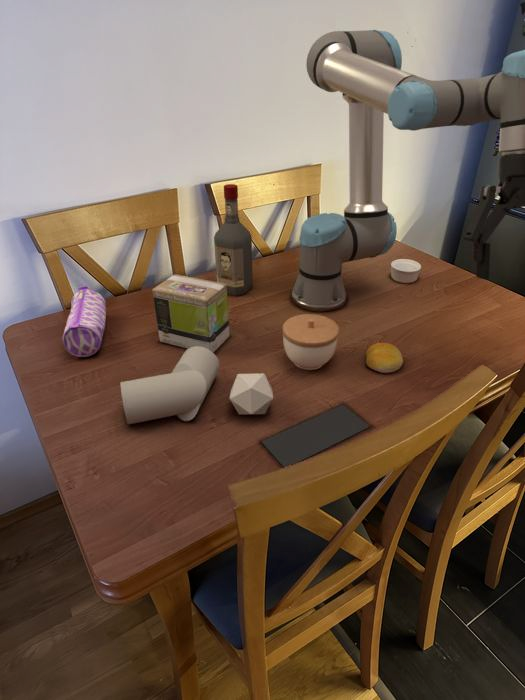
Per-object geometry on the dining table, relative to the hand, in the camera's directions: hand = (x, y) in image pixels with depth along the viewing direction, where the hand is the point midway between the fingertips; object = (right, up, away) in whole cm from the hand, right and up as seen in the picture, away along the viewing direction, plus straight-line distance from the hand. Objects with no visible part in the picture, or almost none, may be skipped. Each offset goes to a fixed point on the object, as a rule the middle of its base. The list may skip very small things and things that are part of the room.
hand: (515, 273), depth 92 cm
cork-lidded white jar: (-37, -17, +22) cm, 46 cm away
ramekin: (-4, +8, +59) cm, 59 cm away
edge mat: (-37, -31, +2) cm, 48 cm away
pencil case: (-92, -11, +32) cm, 98 cm away
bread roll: (-20, -18, +21) cm, 34 cm away
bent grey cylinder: (-67, -26, +10) cm, 72 cm away
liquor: (-56, +4, +54) cm, 78 cm away
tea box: (-65, -12, +30) cm, 73 cm away
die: (-50, -27, +8) cm, 57 cm away
